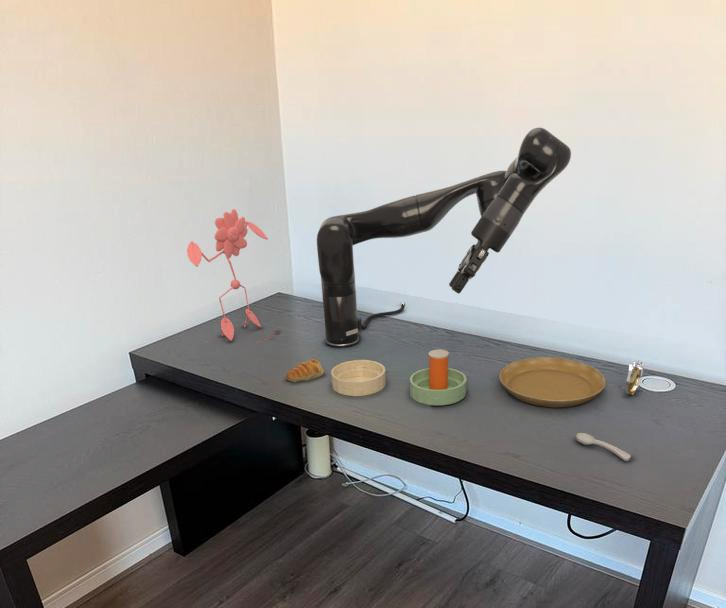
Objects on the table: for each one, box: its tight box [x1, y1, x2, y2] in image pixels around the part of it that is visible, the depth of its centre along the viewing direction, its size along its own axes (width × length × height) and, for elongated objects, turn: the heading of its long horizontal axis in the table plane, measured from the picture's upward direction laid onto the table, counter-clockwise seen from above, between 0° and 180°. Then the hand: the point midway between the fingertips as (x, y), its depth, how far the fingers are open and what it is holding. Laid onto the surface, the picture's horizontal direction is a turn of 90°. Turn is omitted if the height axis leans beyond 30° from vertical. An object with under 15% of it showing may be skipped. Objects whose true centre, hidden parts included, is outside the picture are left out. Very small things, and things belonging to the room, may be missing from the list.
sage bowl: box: [409, 367, 468, 406], centre depth 161 cm, size 13×13×4 cm
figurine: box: [186, 208, 280, 345], centre depth 192 cm, size 15×26×35 cm, turn 141°
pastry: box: [286, 358, 325, 383], centre depth 173 cm, size 9×7×4 cm
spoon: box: [575, 432, 632, 462], centre depth 137 cm, size 3×12×2 cm, turn 41°
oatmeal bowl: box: [330, 359, 387, 397], centre depth 167 cm, size 13×13×4 cm
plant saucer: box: [498, 356, 607, 408], centre depth 160 cm, size 24×24×3 cm
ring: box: [625, 360, 645, 396], centre depth 155 cm, size 7×3×8 cm, turn 137°
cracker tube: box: [428, 349, 450, 390], centre depth 159 cm, size 5×5×10 cm
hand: (453, 289), depth 153 cm, fingers open, 8 cm apart
